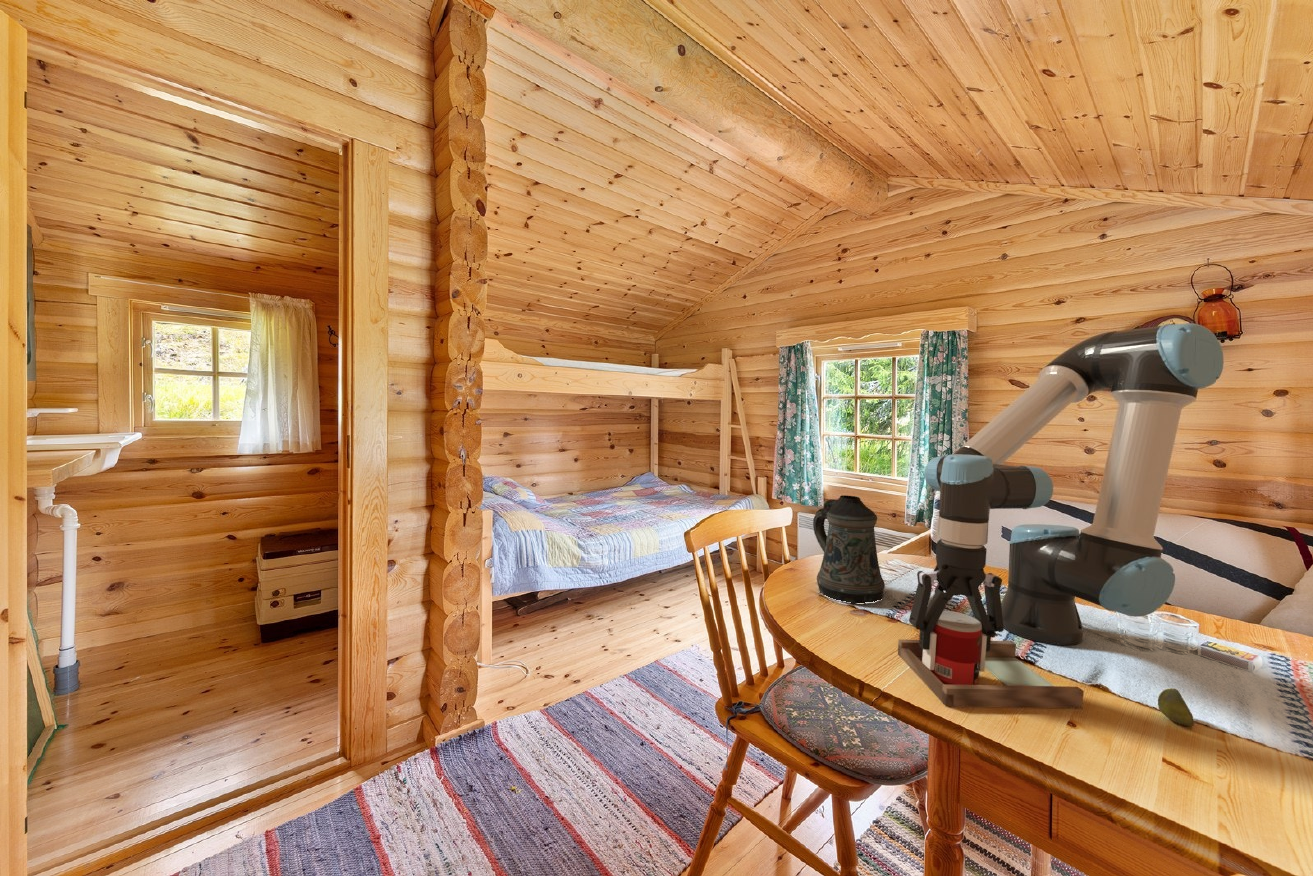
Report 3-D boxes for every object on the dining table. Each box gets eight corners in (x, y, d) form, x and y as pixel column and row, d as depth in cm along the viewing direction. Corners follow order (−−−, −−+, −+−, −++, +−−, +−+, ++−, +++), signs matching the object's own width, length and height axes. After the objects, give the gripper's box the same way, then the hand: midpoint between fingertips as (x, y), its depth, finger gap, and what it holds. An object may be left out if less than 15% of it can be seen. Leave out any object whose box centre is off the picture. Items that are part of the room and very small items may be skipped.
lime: (1169, 711, 81) (1172, 681, 81) (1206, 730, 77) (1209, 698, 76) (1147, 713, 81) (1149, 683, 80) (1183, 733, 76) (1185, 701, 76)
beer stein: (877, 610, 120) (882, 507, 118) (797, 593, 130) (799, 498, 129) (889, 589, 134) (892, 496, 132) (815, 575, 144) (817, 488, 142)
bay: (1010, 655, 99) (1011, 641, 99) (1082, 708, 82) (1083, 690, 82) (897, 654, 99) (898, 639, 99) (945, 706, 82) (946, 688, 82)
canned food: (986, 693, 86) (989, 630, 85) (935, 687, 88) (938, 626, 87) (968, 670, 94) (971, 612, 93) (921, 665, 95) (924, 608, 94)
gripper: (1007, 538, 92) (997, 658, 94) (892, 535, 93) (885, 654, 94) (1037, 550, 85) (1026, 680, 87) (912, 546, 85) (903, 676, 87)
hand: (952, 666), depth 90 cm, fingers closed on canned food, 8 cm apart
